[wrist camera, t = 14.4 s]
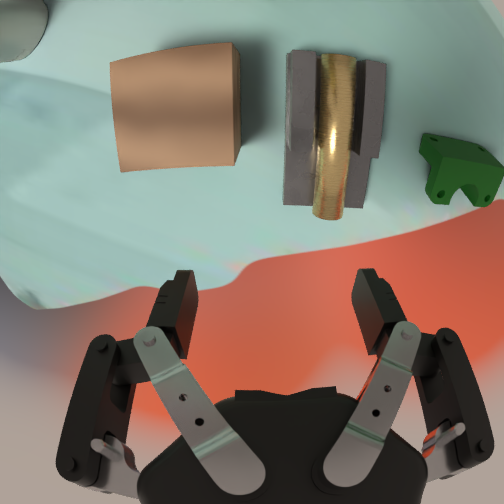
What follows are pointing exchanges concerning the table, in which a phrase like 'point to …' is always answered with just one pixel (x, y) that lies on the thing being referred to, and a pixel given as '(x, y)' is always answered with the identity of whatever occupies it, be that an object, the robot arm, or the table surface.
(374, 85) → the rest
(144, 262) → the table surface
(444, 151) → the clamp
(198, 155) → the wooden mallet head
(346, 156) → the cannon barrel
